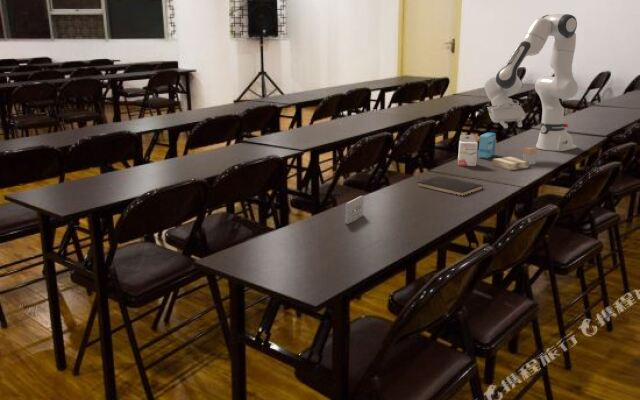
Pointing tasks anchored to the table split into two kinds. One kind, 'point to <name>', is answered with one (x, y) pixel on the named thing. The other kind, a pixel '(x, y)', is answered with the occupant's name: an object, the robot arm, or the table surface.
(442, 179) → the hardcover book
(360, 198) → the cassette
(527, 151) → the block
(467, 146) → the ink cartridge box
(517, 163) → the birch stand
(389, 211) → the table surface
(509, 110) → the robot arm
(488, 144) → the data package
